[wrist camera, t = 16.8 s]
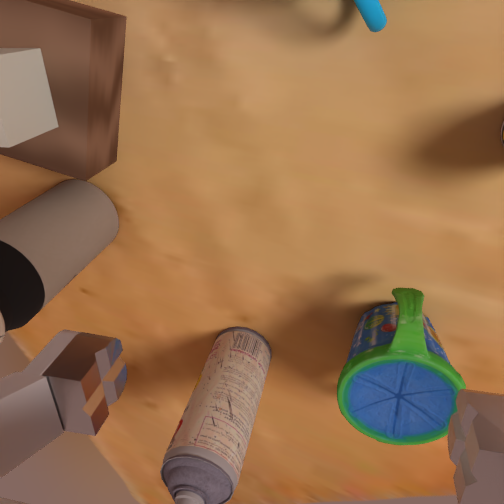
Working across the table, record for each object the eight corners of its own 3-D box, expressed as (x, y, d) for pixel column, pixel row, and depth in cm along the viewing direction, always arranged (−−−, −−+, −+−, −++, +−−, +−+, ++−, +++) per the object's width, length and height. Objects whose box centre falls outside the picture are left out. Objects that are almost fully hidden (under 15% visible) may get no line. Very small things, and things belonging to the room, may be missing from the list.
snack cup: (358, 255, 44) (355, 319, 35) (471, 276, 42) (498, 348, 33) (330, 371, 51) (322, 447, 43) (424, 392, 50) (436, 475, 41)
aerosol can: (209, 326, 52) (133, 486, 35) (266, 326, 50) (215, 495, 33) (221, 371, 55) (156, 537, 38) (275, 372, 53) (232, 548, 36)
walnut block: (-12, -24, 39) (-70, -27, 34) (128, 16, 38) (90, 19, 33) (-2, 123, 46) (-48, 138, 40) (117, 160, 45) (85, 181, 40)
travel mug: (41, 180, 47) (-114, 268, 32) (107, 175, 45) (-25, 266, 30) (66, 247, 51) (-62, 354, 36) (129, 245, 49) (21, 358, 34)
